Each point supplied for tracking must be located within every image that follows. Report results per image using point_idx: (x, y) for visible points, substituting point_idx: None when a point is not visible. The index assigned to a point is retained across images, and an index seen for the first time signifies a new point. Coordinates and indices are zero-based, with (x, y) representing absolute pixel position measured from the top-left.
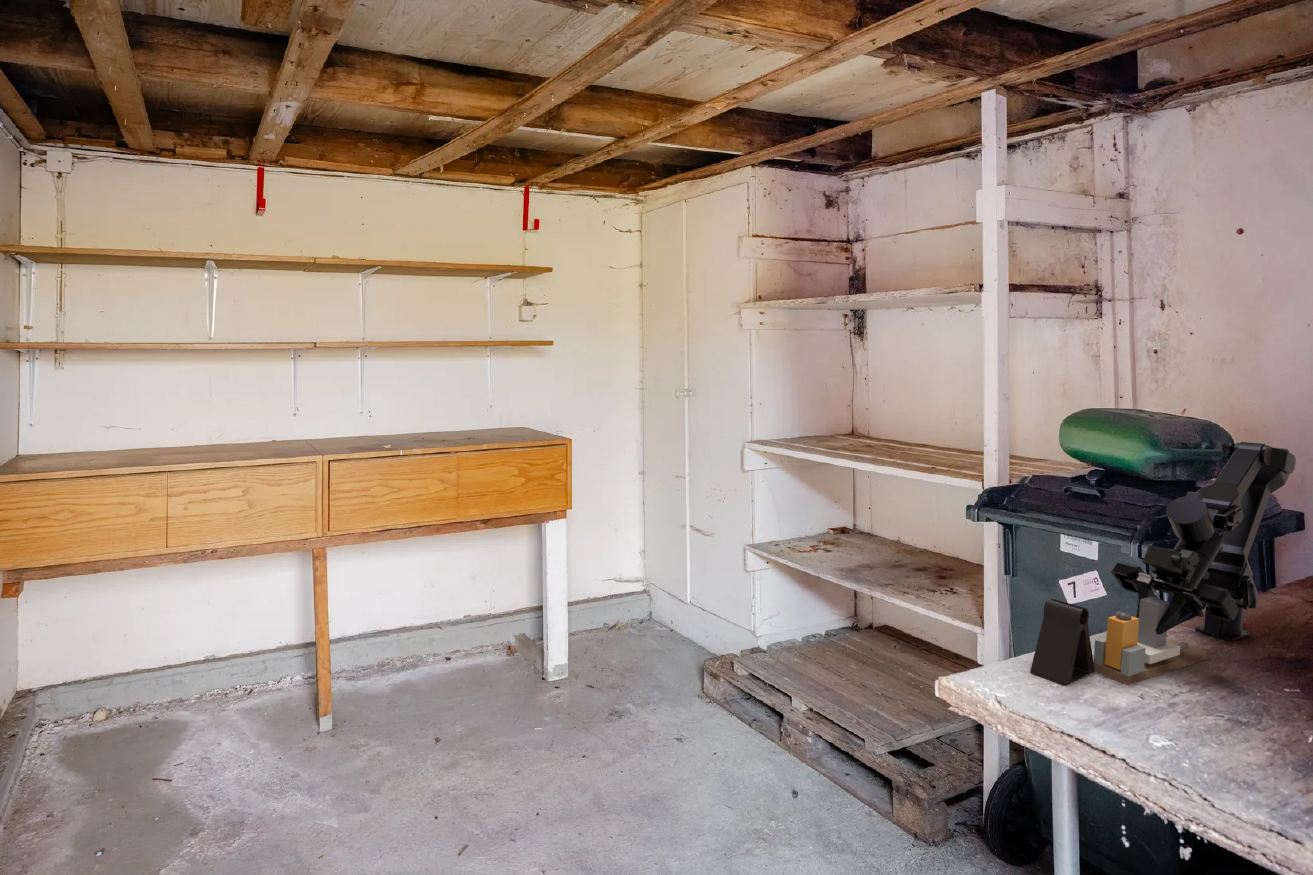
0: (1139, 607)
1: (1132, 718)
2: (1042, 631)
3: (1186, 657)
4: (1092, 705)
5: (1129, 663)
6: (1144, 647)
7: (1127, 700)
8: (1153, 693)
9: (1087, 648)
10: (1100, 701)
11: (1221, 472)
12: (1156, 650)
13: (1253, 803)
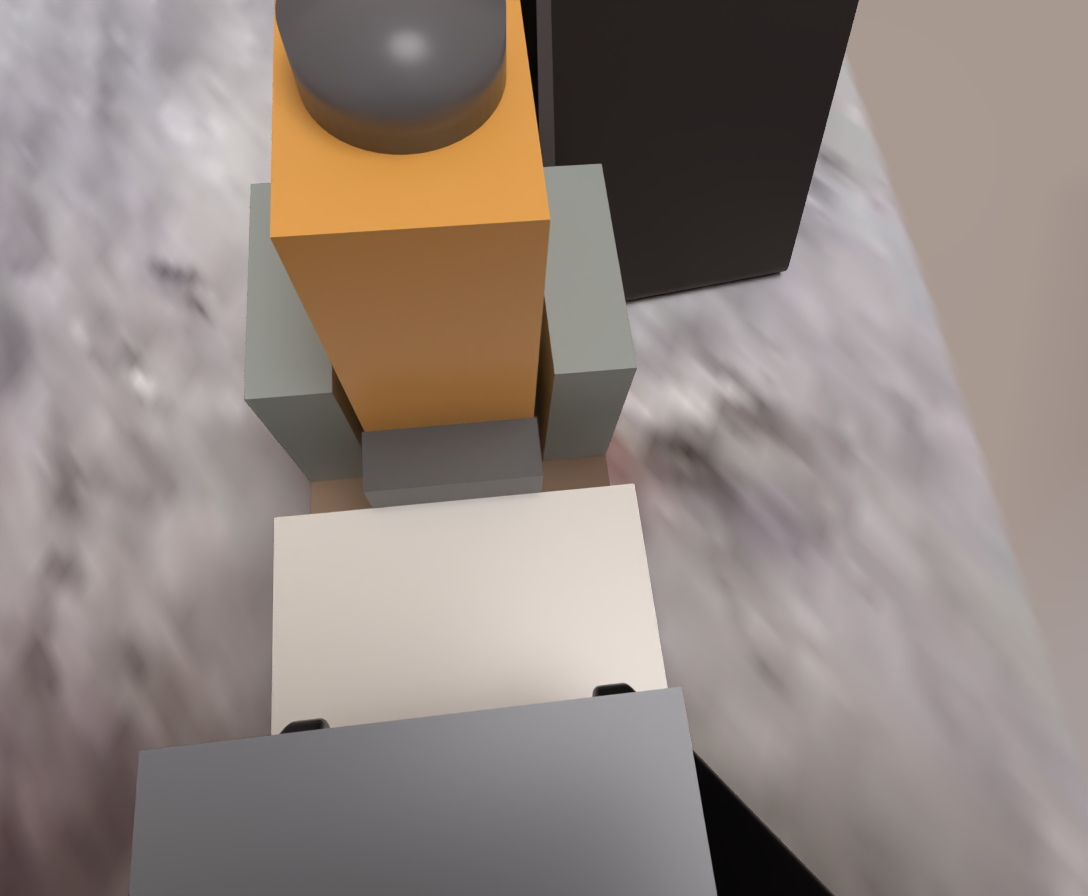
0: (772, 877)
1: (56, 48)
2: None
3: None
4: (256, 4)
5: None
6: (255, 394)
7: (194, 180)
8: (163, 384)
9: (539, 73)
10: (265, 63)
11: None
12: (325, 695)
13: None
